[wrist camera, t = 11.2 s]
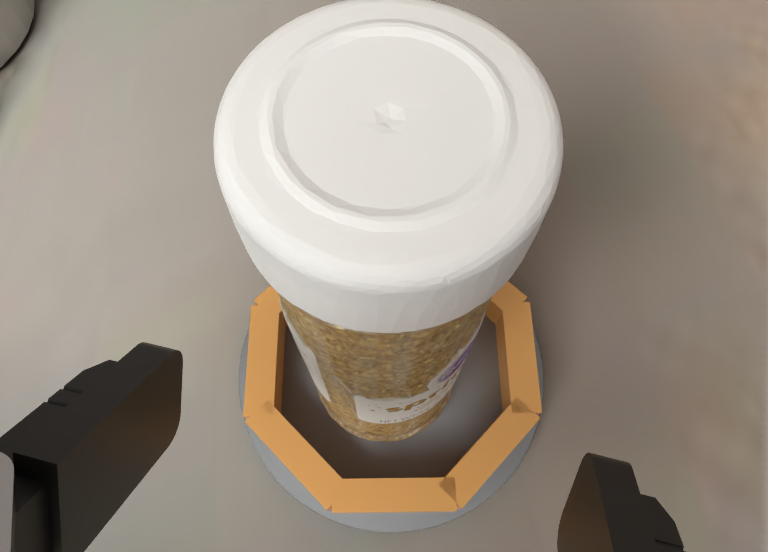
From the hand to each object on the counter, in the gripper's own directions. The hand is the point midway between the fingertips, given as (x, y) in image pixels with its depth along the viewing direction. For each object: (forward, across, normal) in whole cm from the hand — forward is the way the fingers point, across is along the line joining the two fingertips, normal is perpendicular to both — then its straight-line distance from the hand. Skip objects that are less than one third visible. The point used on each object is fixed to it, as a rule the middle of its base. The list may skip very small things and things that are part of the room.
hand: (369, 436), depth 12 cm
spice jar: (+8, 0, +3) cm, 8 cm away
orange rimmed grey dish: (+8, 0, +3) cm, 9 cm away
